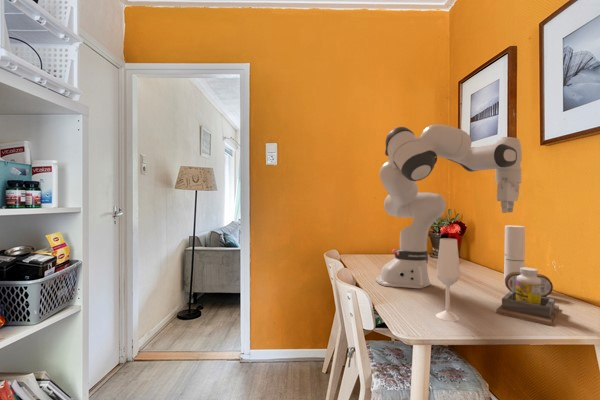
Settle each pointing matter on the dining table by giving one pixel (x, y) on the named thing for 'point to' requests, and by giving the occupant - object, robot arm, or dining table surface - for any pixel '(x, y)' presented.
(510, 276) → the tin
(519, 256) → the cylindrical container
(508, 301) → the holder
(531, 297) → the supplement bottle
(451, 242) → the champagne flute
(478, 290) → the dining table surface
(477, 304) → the dining table surface
